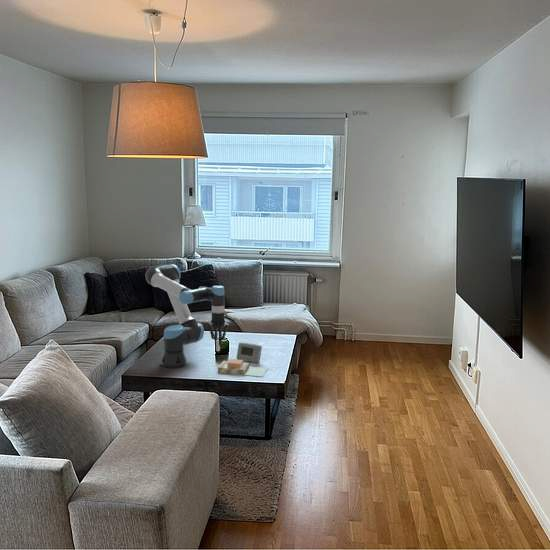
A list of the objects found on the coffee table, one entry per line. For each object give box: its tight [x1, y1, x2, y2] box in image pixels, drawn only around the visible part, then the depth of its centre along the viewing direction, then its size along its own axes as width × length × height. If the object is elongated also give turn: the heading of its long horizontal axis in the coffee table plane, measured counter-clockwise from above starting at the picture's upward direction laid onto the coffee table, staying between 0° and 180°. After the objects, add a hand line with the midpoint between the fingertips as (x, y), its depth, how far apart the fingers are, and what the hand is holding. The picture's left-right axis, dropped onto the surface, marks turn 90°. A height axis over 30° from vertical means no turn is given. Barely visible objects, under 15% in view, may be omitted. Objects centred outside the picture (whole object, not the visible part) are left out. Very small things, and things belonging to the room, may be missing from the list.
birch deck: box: [217, 360, 250, 376], centre depth 325 cm, size 16×12×3 cm
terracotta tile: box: [227, 358, 244, 368], centre depth 324 cm, size 8×7×2 cm
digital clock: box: [235, 342, 263, 364], centre depth 342 cm, size 16×9×11 cm, turn 56°
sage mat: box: [244, 366, 269, 378], centre depth 323 cm, size 11×14×1 cm
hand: (218, 350), depth 325 cm, fingers closed
